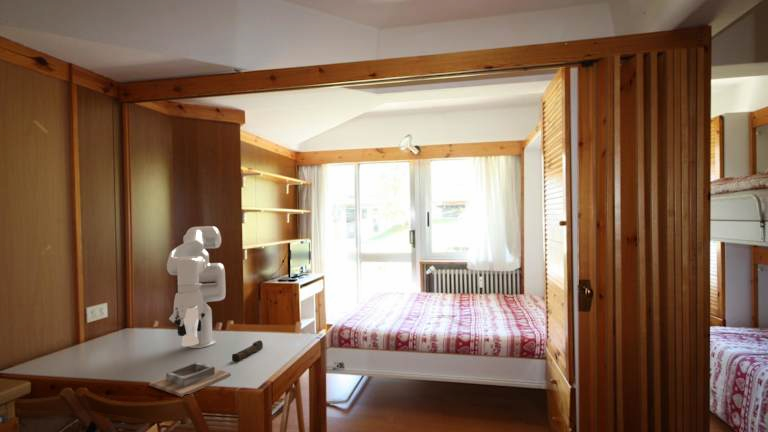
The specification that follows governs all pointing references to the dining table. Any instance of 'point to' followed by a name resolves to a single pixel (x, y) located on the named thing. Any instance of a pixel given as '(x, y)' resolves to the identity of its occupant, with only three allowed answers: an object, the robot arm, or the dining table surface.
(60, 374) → the dining table surface
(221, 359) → the dining table surface
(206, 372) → the glass dock
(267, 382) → the dining table surface
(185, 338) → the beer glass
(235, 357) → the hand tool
